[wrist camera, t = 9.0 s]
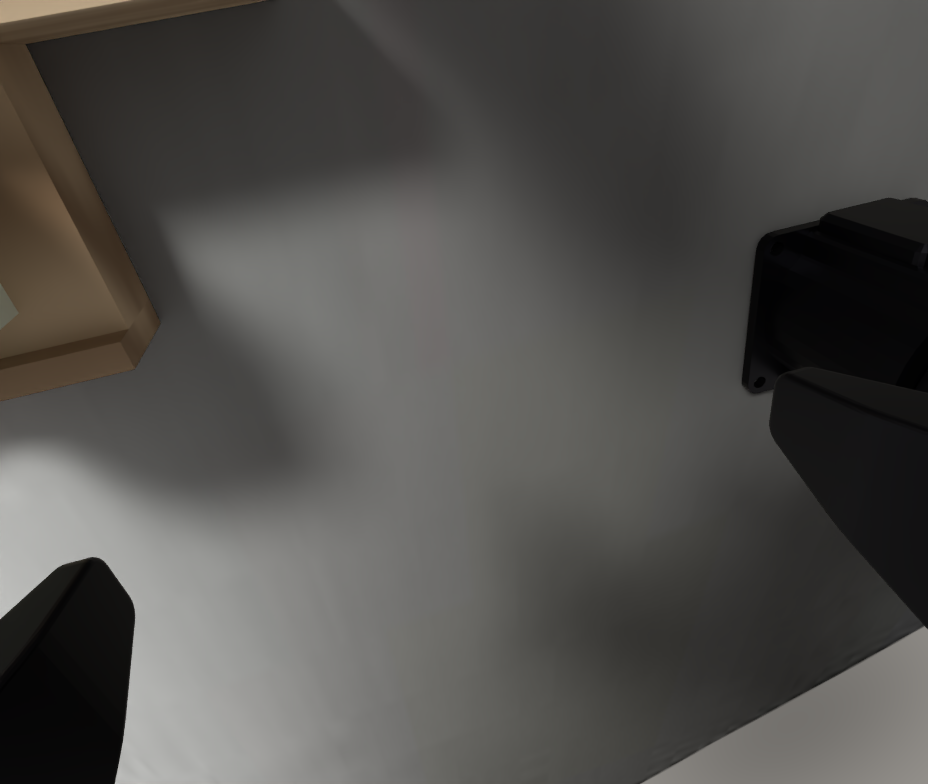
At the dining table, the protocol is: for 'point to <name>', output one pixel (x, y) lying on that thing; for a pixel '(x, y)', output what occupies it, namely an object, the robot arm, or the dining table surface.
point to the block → (6, 308)
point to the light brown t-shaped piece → (63, 214)
